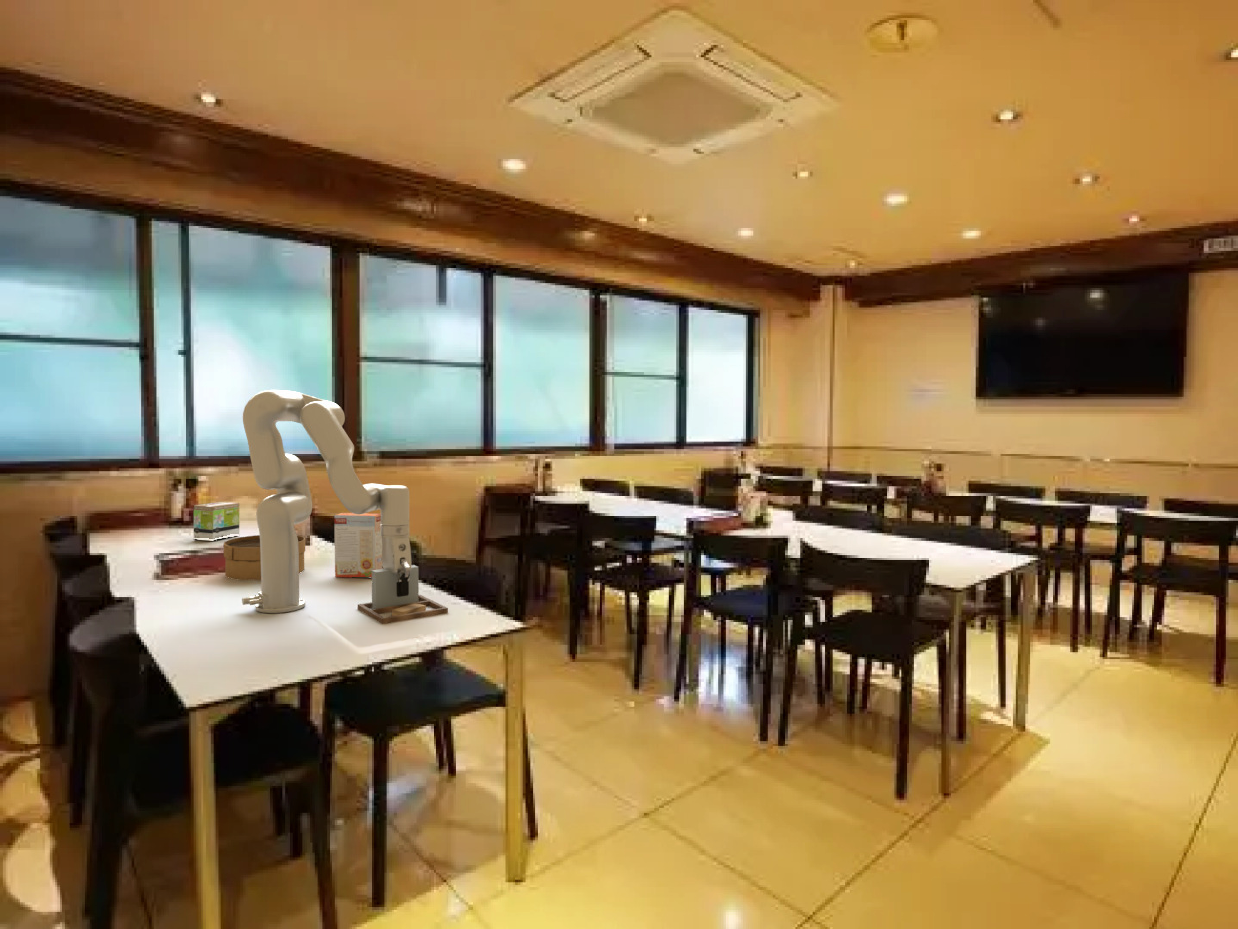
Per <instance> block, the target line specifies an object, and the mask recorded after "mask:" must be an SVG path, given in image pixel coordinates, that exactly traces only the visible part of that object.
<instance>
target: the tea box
mask: <svg viewBox="0 0 1238 929" xmlns="http://www.w3.org/2000/svg"><path fill="white" fill-rule="evenodd" d="M230 534H239V535H240V503H239V502H229V501H218V502H211V503H203V504H195V505H193V539H194V538H209V539H215V538H219V537H223V536H227V535H230Z"/></svg>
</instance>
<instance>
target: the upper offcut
mask: <svg viewBox="0 0 1238 929" xmlns="http://www.w3.org/2000/svg"><path fill="white" fill-rule="evenodd" d="M426 609H427V606H426V605H421V604H416V603H415V604H411V605H408V606H404V607H400V608H397V609H393V610H392V612H391V615H392V616H397V615H403V614H409V613H415V612H421V611H427V610H426Z"/></svg>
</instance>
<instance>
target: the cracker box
mask: <svg viewBox="0 0 1238 929" xmlns="http://www.w3.org/2000/svg"><path fill="white" fill-rule="evenodd" d="M333 517H334V519H333V520H334V575H335V576H334V577H335V578H352V577H371V578H370V579H372V570H379V569H382V560H381V557H382V540H383V537H381V513H370V512H367V513H364V514H354V513H351V512H341V513H336V514H334V516H333Z"/></svg>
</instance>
